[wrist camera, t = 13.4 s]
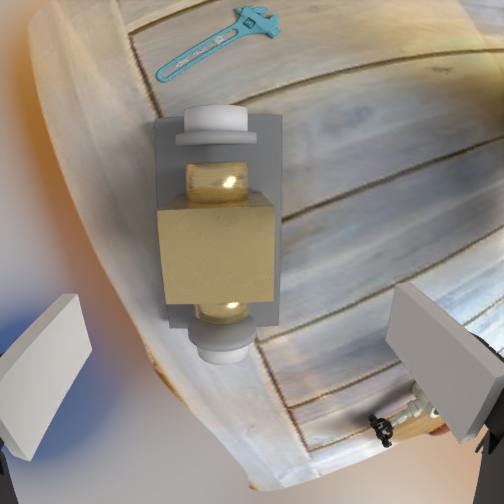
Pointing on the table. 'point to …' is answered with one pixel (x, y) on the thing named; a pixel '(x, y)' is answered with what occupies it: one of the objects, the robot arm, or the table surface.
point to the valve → (403, 415)
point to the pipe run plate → (259, 180)
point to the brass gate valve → (217, 243)
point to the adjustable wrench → (246, 13)
